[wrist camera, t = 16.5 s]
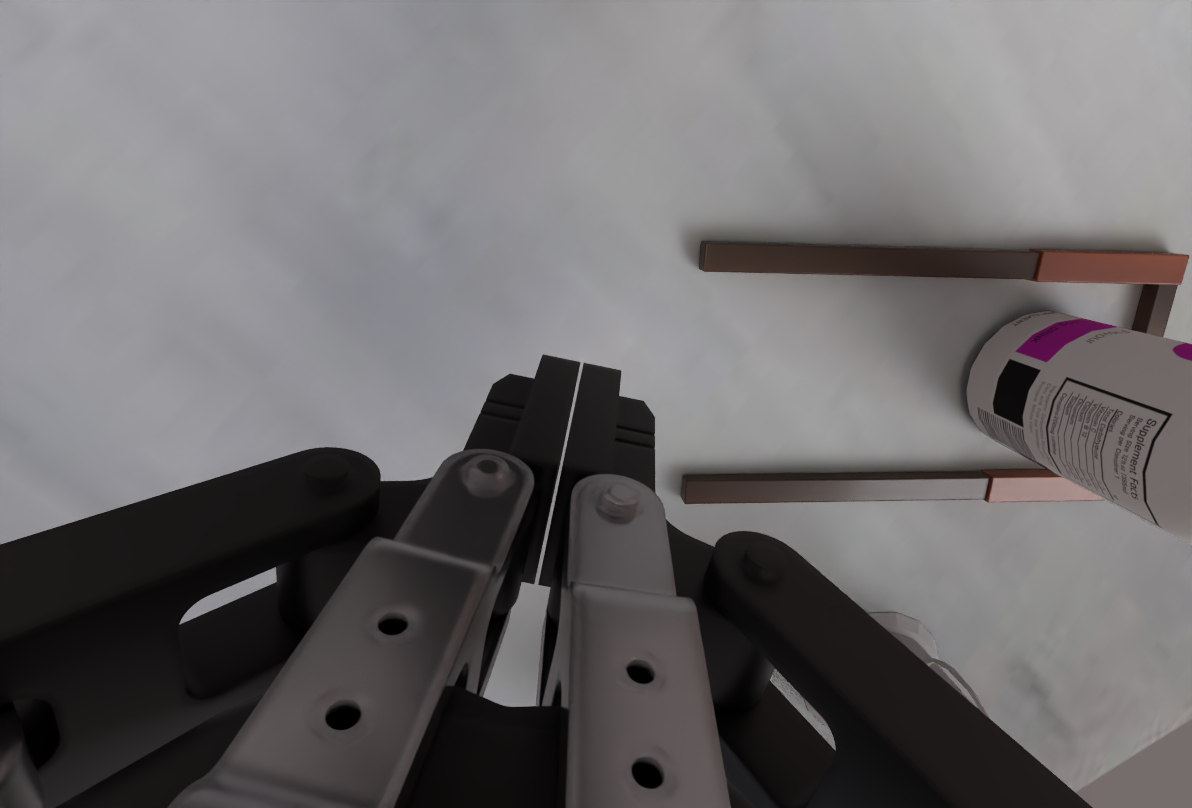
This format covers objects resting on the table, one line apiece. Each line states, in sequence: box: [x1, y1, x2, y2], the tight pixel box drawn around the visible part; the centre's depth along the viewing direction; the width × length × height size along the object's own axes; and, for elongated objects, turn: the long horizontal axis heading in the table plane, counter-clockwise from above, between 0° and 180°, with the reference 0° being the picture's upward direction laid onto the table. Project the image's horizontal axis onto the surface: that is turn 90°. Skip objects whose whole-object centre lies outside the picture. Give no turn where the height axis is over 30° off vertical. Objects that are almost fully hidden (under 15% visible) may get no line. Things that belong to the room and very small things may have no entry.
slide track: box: [681, 241, 1189, 504], centre depth 40 cm, size 15×28×1 cm, turn 88°
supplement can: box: [966, 311, 1192, 546], centre depth 35 cm, size 8×8×15 cm
